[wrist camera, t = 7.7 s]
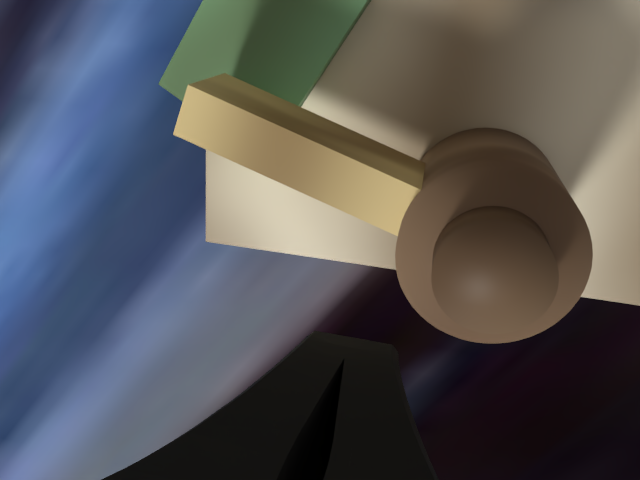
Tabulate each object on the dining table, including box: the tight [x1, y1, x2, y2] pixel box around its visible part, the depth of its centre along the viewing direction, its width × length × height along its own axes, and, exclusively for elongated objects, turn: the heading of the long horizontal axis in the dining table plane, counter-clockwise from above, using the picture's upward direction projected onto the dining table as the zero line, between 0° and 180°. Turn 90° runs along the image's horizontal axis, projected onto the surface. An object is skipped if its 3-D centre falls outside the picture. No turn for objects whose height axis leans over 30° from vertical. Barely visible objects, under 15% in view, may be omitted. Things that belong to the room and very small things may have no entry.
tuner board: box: [159, 0, 640, 305], centre depth 16 cm, size 16×11×2 cm
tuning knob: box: [173, 73, 593, 343], centre depth 14 cm, size 10×4×5 cm, turn 68°
